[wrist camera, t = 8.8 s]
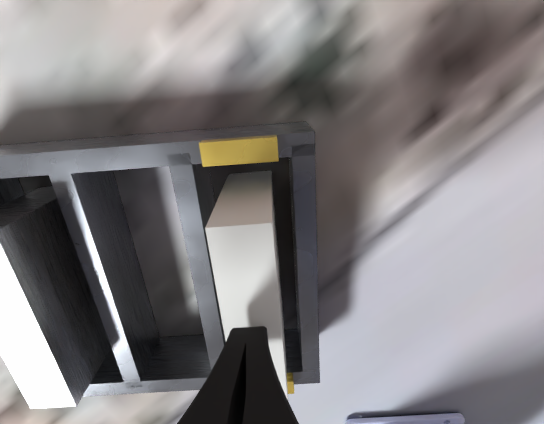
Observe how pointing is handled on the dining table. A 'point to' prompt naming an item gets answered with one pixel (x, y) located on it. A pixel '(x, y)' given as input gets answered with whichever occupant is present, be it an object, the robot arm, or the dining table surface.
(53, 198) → the rack
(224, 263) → the block
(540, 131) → the dining table surface
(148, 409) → the dining table surface
